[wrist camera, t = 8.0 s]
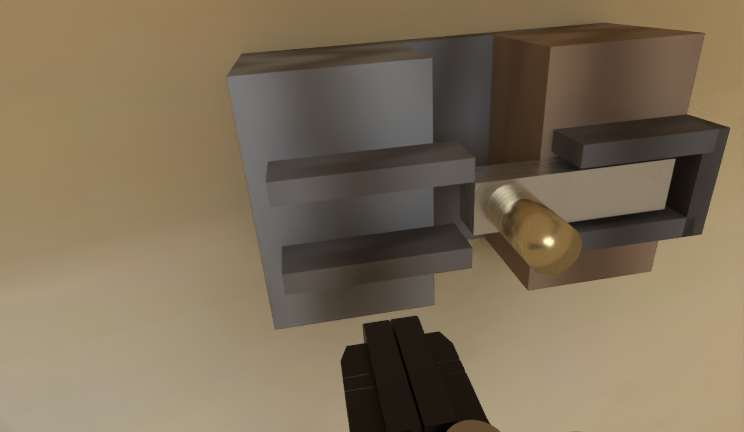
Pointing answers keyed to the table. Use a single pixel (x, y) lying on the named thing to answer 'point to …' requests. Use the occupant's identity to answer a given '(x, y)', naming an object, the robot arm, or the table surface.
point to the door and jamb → (455, 154)
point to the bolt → (557, 203)
